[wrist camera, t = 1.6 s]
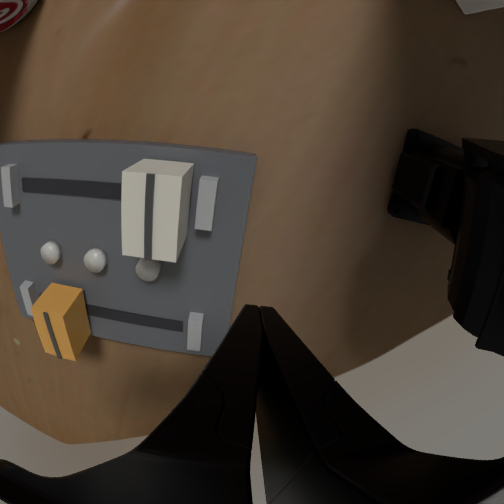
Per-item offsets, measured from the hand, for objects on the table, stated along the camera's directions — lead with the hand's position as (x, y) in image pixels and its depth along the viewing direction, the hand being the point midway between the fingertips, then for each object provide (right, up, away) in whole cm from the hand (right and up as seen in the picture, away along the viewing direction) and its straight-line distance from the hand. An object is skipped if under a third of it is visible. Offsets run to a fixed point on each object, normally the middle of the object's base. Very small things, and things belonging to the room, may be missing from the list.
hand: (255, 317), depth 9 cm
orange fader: (-15, -3, +12) cm, 19 cm away
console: (-11, +2, +12) cm, 16 cm away
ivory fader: (-5, +5, +8) cm, 11 cm away
